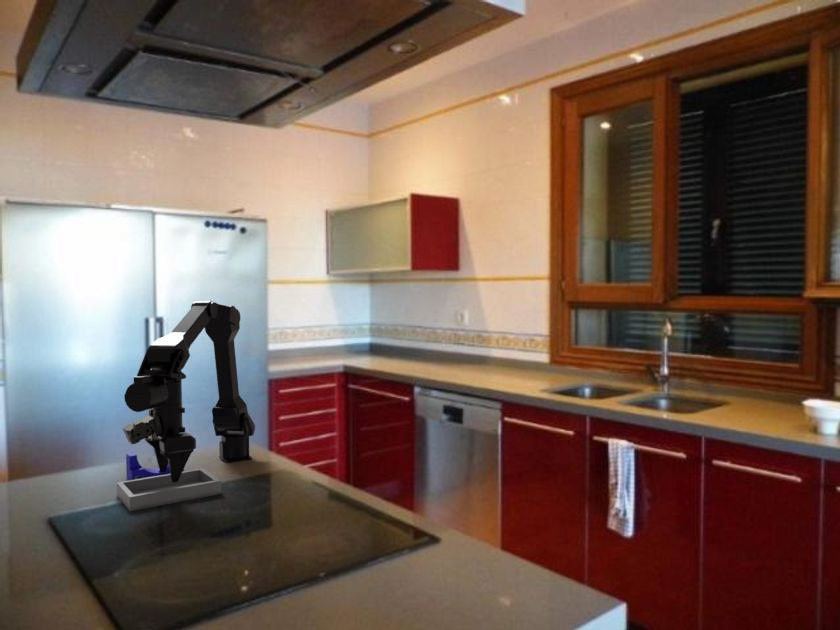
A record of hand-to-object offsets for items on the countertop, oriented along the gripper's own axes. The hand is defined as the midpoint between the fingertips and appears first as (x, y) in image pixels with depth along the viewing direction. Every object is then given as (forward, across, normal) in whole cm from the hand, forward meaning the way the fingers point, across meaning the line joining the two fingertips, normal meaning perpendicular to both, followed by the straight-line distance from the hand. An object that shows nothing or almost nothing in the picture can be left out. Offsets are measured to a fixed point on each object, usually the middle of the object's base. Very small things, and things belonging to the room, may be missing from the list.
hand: (168, 476), depth 136 cm
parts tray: (+4, 0, 0) cm, 4 cm away
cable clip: (+4, -17, +2) cm, 17 cm away
